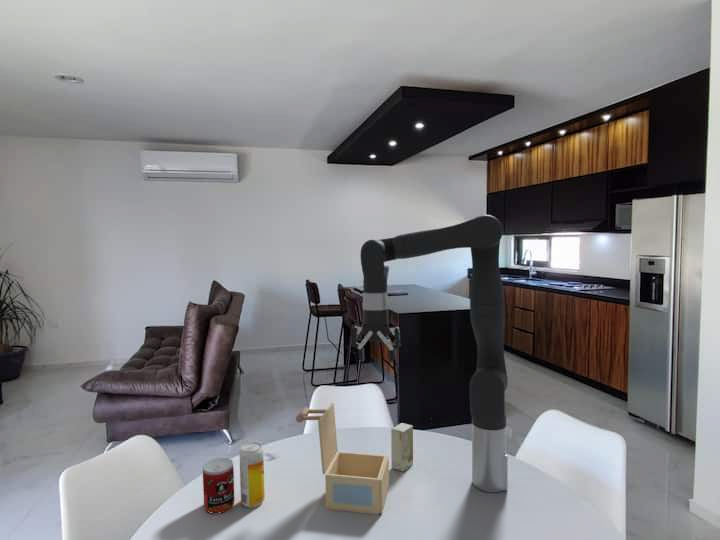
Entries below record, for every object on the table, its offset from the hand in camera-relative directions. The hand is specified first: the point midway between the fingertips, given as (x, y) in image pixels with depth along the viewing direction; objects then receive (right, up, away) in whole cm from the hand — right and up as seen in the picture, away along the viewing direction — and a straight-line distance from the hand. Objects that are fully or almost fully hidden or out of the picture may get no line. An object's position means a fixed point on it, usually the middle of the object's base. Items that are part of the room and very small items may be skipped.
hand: (376, 361), depth 129 cm
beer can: (-33, -35, -14) cm, 50 cm away
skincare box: (+8, -33, +4) cm, 34 cm away
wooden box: (-5, -34, -12) cm, 36 cm away
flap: (-13, -18, -12) cm, 25 cm away
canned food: (-42, -35, -15) cm, 56 cm away
